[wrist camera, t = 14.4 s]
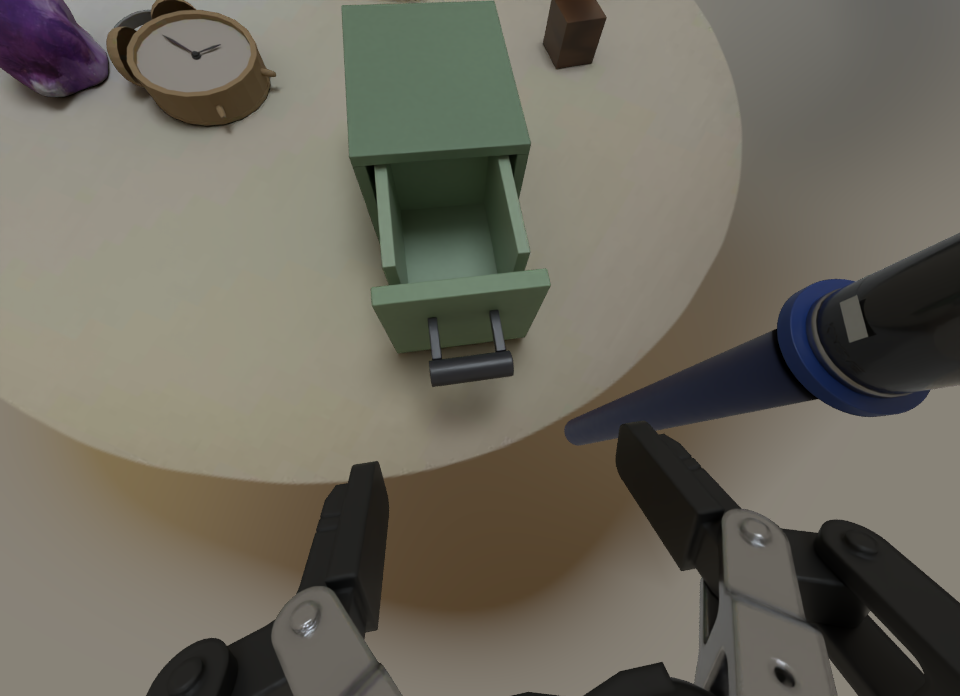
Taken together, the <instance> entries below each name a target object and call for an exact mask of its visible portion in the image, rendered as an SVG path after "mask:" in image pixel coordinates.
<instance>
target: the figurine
mask: <svg viewBox="0 0 960 696" xmlns="http://www.w3.org/2000/svg"><path fill="white" fill-rule="evenodd" d="M0 68H2V69H3V70H4V71H6V72H7V73H9V74H10V75H11V76H13V77H14V78H15V79H17V80H18V81H20V82H21V83H23V84H24V85H26V86H28V87H29V88H31V89H32V90H34V91H36V92H37V93H39V94H41V95H44V96H48V97H64V96H68V95H71V94H73V93H76V92H78V91H79V90H83V89H86V88H88V87H92V86H94V85H97V84H99V83H102V81H103V80H105V79H106V78H107V76H108V58H107V55H106V52H105V51H104V50H103V48H102V47H101V46H100V45H99V44H97V43H96V42H95V41H94V39H93V37H91V35H90V34H89V33H88V32H86V31H85V30H84V29H83V28H82V27H80V26H79V25H78V24H77V23H76V21H75V19H74V17H73V15H72V13H71V11H70V10H69V8H68V6H67V5H66V4H65V2H64V1H63V0H0Z"/></svg>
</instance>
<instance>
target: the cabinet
mask: <svg viewBox="0 0 960 696" xmlns="http://www.w3.org/2000/svg"><path fill="white" fill-rule="evenodd" d="M342 25H343V45H344V65H345V85H346V104H347V124H348V144H349V158H350V161H351V164H352V166H353V169H354V172H355V175H356V178H357V181H358V183H359V186H360V189H361V192H362V195H363V198H364V200H365V203H366V206H367V209H368V212H369V215H370V217H371V220H372V223H373V226H374V229H375V232H376V234H377V237H378V240H379V243H380V234H379V222H378V209H377V196H376V183H375V170H374V165H381V164H395V163H408V162H421V161H435V160H448V159H461V158H475V157H488V156H501V155H508V156H509V160H510V165H511V169H512V173H513V178H514V182H515V187H516V191H517V195H518V200H519V196H520V191H521V187H522V182H523V178H524V173H525V169H526V164H527V160H528V155H529V150H530V146H531V142H530V138H529V134H528V130H527V126H526V123H525V119H524V115H523V111H522V107H521V103H520V99H519V95H518V91H517V88H516V84H515V80H514V76H513V72H512V68H511V64H510V60H509V56H508V52H507V49H506V45H505V41H504V37H503V33H502V29H501V25H500V21H499V17H498V14H497V10H496V6H495V2H494V1H470V2H438V3H406V4H373V5H342Z"/></svg>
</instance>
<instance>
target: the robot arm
mask: <svg viewBox="0 0 960 696" xmlns="http://www.w3.org/2000/svg"><path fill="white" fill-rule="evenodd" d="M806 332H807V337H808V341H809V344H810V347H811V349H812V351H813V353H814V355H815V356H816V358H817V360H818V361H819V362H820V364H821V365H822V366H823V368H824V369H825V370H826V371H827V372H828V373H829V374H830V375H831V376H832V377H833V378H835V379H836V380H837V381H838V382H840V383H841V384H842V385H844V386H846V387H847V388H849V389H851V390H853V391H855V392H857V393H860V394H862V395H865V396H869V397H874V398H892V397H898V396H904V395H908V394H911V393H913V392H919V391H925V390H931V389H937V388H942V387H949V386H957V385H960V233H958V234H956V235H954V236H952V237H950V238H948V239H945V240H943V241H941V242H939V243H937V244H935V245H933V246H930V247H928V248H926V249H924V250H922V251H920V252H918V253H916V254H914V255H911V256H909V257H907V258H905V259H903V260H901V261H899V262H897V263H895V264H892V265H890V266H888V267H886V268H884V269H882V270H880V271H878V272H875V273H873V274H871V275H869V276H866V277H864V278H862V279H860V280H858V281H856V282H854V283H852V284H850V285H847V286H845V287H843V288H840V289H837V290H834V291H832V292H830V293H828V294H826V295H824V296H822V297H820V298H819V299H817V300H816V301H815V302H814V303H813V305H812V306H811V308H810V310H809V312H808V315H807V319H806ZM616 467H617V470H618V473H619V475H620V477H621V479H622V480H623V481H624V483H625V485H626V486H627V488H628V490H629V491H630V493H631V494H632V496H633V497H634V499H635V500H636V502H637V503H638V505H639V507H640V508H641V509H642V511H643V513H644V514H645V516H646V517H647V519H648V520H649V522H650V524H651V525H652V527H653V528H654V530H655V531H656V533H657V534H658V536H659V538H660V539H661V540H662V542H663V544H664V545H665V547H666V548H667V550H668V551H669V553H670V555H671V556H672V557H673V559H674V561H675V562H676V564H677V565H678V567H679V568H680V570H681V571H685V570H690V569H695V568H696V569H697V570H698V572H699V573H700V575H701V576H702V578H701V582H700V621H699V623H700V625H699V655H698V662H697V667H696V674H695V682H694V684H692V683H690V682H687V681H684V680H680V679H677V678H672V677H670V676H669V674H668V672H667V670H666V668H665V666H664V664H663V662H660V663H656V664H651V665H646V666H642V667H638V668H633V669H629V670H624V671H620V672H618V673H617V674H615V675H614V676H612V677H611V678H609V679H608V680H606V681H605V682H603V683H602V684H600V685H599V686H597V687H596V688H594V689H593V690H591V691H590V692H589V693H587V694H586V695H584V696H838V695H837V691H836V687H835V683H834V678H833V674H832V670H831V666H830V662H829V659H830V660H831V661H832V663H833V664H834V665H835V666H836V668H837V669H838V670H839V671H840V673H841V674H842V675H843V677H844V678H845V679H846V680H847V682H848V683H849V684H850V685H851V687H852V688H853V689H854V690H855V692H856V693H857V695H858V696H960V603H959V602H958V601H957V600H956V599H954V598H953V597H952V596H951V595H950V594H949V593H947V592H946V591H945V590H944V589H943V588H942V587H940V586H939V585H938V584H937V583H936V582H934V581H933V580H932V579H931V578H930V577H929V576H927V575H926V574H925V573H924V572H923V571H921V570H920V569H919V568H918V567H917V566H916V565H914V564H913V563H912V562H911V561H910V560H908V559H907V558H906V557H905V556H904V555H902V554H901V553H900V552H899V551H898V550H897V549H895V548H894V547H893V546H892V545H891V544H890V543H888V542H887V541H886V540H885V539H883V538H882V537H881V536H879V535H878V534H876V533H874V532H873V531H871V530H869V529H867V528H865V527H863V526H860V525H858V524H855V523H852V522H849V521H844V520H829V521H826V522H825V523H824V524H823V525H822V527H821V528H820V530H819V532H818V533H813V532H806V531H797V530H789V529H782V528H779V526H778V525H776V524H775V523H774V522H773V521H771V520H770V519H768V518H767V517H765V516H763V515H761V514H759V513H756V512H754V511H750V510H746V509H741V508H740V507H739V506H738V505H737V504H736V503H735V501H733V499H732V498H731V497H730V496H729V495H728V494H727V493H726V492H725V491H724V490H723V489H722V488H721V487H720V486H719V484H718V483H717V482H716V481H715V480H714V479H713V478H712V477H711V476H710V475H709V474H708V473H707V472H706V471H705V470H704V469H703V468H701V466H700V464H699V463H698V462H697V461H696V460H695V459H694V458H692V457H691V455H690V454H689V453H688V452H687V451H686V450H685V448H684V447H683V446H682V445H681V444H680V443H678V442H677V441H675V440H673V439H672V438H670V437H668V436H666V435H665V434H660V435H658V434H657V432H656V431H655V430H654V429H653V428H652V427H651V426H650V425H649V424H648V423H647V422H646V421H639V422H632V423H626V424H622V425H621V426H620V429H619V436H618V443H617V452H616ZM320 517H321V519H320V520H319V523H318V526H317V529H316V531H317V532H316V533H315V536H314V539H313V543H312V546H311V549H310V553H309V556H308V560H307V563H306V566H305V570H304V573H303V576H302V580H301V584H300V586H299V589H298V592H297V593H296V595H295V596H294V597H292V599H290V600H289V601H288V602H287V603H286V604H285V605H284V607H283V608H282V609H281V611H280V612H279V614H278V616H277V617H276V619H275V620H274V621H272V622H271V623H269V624H268V625H266V626H265V627H263V628H261V629H259V630H257V631H255V632H253V633H251V634H250V635H247V636H246V637H244V638H242V639H240V640H238V641H236V642H234V643H232V644H230V645H229V646H226V644H225V643H224V642H223V641H221V640H220V639H216V638H208V639H203V640H200V641H198V642H195V643H193V644H191V645H190V646H188V647H186V648H185V649H183V650H182V651H181V652H179V653H178V654H177V655H176V656H175V657H174V658H172V659H171V661H169V663H168V664H167V665H166V666H165V667H164V668H163V669H162V670H161V672H160V673H159V674H158V676H157V677H156V679H155V680H154V681H153V683H152V685H151V687H150V689H149V691H148V693H147V695H146V696H402V694H401V692H400V691H399V689H398V688H397V686H396V684H395V683H394V681H393V680H392V678H391V677H390V675H389V673H388V672H387V671H386V669H385V668H384V666H383V665H382V664H381V663H379V662H378V661H377V660H376V658H375V656H374V655H373V653H372V652H371V650H370V649H369V647H368V645H367V644H366V642H365V641H364V638H365V633H366V632H370V631H376V630H377V629H378V620H379V609H380V600H381V590H382V580H383V569H384V559H385V549H386V539H387V529H388V518H389V502H388V495H387V491H386V487H385V484H384V480H383V476H382V472H381V468H380V465H379V462H378V461H375V462H368V463H362V464H355V465H353V466H352V468H351V472H350V477H349V481H348V483H346V484H340V485H336V486H335V487H334V489H333V490H332V492H331V493H330V494H329V496H328V497H327V498H326V500H325V502H324V506H323V509H322V513H321V516H320ZM870 611H871V612H872V613H873V614H874V615H875V616H876V617H877V618H878V619H879V620H880V621H881V622H882V623H883V624H884V625H885V626H886V627H887V628H888V629H889V630H890V631H891V632H892V634H893V635H894V636H895V637H896V638H897V639H898V640H899V641H900V642H901V643H902V644H903V645H904V646H905V647H906V648H907V649H908V650H909V651H910V652H911V653H912V655H913V656H914V657H915V658H916V659H917V661H918V662H919V664H920V666H921V667H922V669H923V672H924V674H923V673H922V672H921V671H920V670H919V668H918V667H917V666H916V665H915V664H914V663H913V662H912V661H911V660H910V659H909V658H908V657H907V656H906V655H905V654H904V653H903V652H902V650H901V649H900V648H899V647H898V646H897V645H896V644H895V643H894V642H893V641H892V640H891V639H890V638H889V637H888V636H887V635H886V634H885V632H883V630H882V629H881V628H880V627H879V626H878V625H877V624H876V623H875V622H874V621H873V620H872V619H871V618H870V617H869V616H868V613H869V612H870ZM828 657H829V658H828ZM513 696H557V695H549V694H541V693H532V692H526V693H522V694H517V695H513Z"/></svg>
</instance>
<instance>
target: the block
mask: <svg viewBox="0 0 960 696" xmlns="http://www.w3.org/2000/svg"><path fill="white" fill-rule="evenodd" d="M606 18H607V17H606V15H605V14H604V12H603V11H602V9H601V7H600V6H599V4H598V2H597V1H596V0H551V5H550V10H549V16H548V21H547V26H546V31H545V36H544V41H543V44H544V46H545V48H546V49H547V51H548V53H549V55H550V57H551V59H552V61H553V63H554V65H555V67H556V69H558V68H564V67H570V66H577V65H583V64H589V63H592V61H593V58H594V55H595V52H596V49H597V46H598V43H599V39H600V36H601V33H602V30H603V27H604V24H605V21H606Z"/></svg>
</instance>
